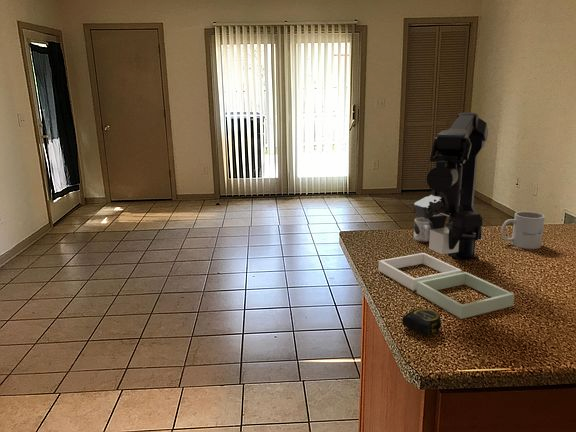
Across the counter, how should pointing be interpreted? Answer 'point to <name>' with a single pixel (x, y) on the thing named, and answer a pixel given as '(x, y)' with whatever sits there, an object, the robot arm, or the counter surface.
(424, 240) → the mug
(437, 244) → the stone cube
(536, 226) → the mug
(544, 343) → the counter surface
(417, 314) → the tape measure
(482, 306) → the bin
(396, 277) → the bin
